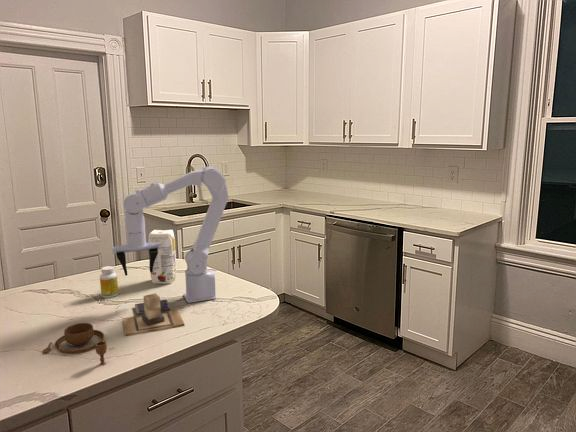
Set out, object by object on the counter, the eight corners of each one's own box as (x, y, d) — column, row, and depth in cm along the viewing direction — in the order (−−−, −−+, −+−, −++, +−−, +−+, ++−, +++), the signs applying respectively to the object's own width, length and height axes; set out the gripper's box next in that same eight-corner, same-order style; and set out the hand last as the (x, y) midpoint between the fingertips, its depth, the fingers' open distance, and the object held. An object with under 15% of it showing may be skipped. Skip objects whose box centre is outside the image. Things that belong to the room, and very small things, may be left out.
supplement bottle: (112, 298, 149) (110, 270, 147) (98, 297, 150) (95, 269, 148) (121, 292, 154) (119, 265, 152) (107, 291, 155) (105, 264, 153)
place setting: (118, 331, 126) (116, 311, 125) (110, 367, 108) (108, 345, 106) (50, 339, 122) (48, 319, 121) (29, 378, 103) (26, 355, 102)
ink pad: (167, 302, 146) (166, 298, 146) (170, 310, 139) (170, 307, 139) (135, 307, 142) (134, 303, 142) (137, 316, 135) (136, 312, 135)
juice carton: (172, 284, 162) (170, 233, 158) (149, 284, 162) (146, 233, 158) (178, 277, 169) (175, 229, 166) (155, 277, 169) (152, 228, 166)
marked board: (177, 311, 139) (177, 308, 139) (184, 325, 129) (184, 323, 129) (123, 320, 133) (123, 317, 132) (125, 335, 123) (125, 333, 122)
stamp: (158, 315, 134) (157, 292, 133) (164, 321, 130) (163, 297, 129) (141, 319, 131) (140, 295, 130) (147, 325, 127) (145, 301, 126)
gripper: (158, 227, 146) (160, 266, 149) (110, 231, 141) (114, 272, 143) (160, 231, 140) (163, 272, 143) (111, 236, 134) (114, 278, 137)
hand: (138, 273), depth 143 cm, fingers open, 7 cm apart
